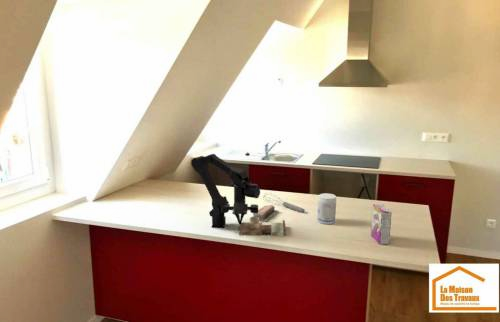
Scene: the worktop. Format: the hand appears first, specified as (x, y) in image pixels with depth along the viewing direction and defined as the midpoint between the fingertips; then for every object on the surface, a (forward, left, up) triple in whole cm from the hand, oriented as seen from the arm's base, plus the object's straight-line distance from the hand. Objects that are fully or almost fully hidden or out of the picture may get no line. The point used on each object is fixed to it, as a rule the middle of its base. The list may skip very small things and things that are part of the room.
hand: (240, 224), depth 191 cm
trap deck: (+11, 0, -3) cm, 12 cm away
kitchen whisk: (+24, +38, -4) cm, 45 cm away
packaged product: (+12, +21, -4) cm, 25 cm away
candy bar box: (+68, -9, -4) cm, 69 cm away
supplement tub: (+46, +14, -4) cm, 48 cm away
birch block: (+8, 0, -1) cm, 8 cm away
